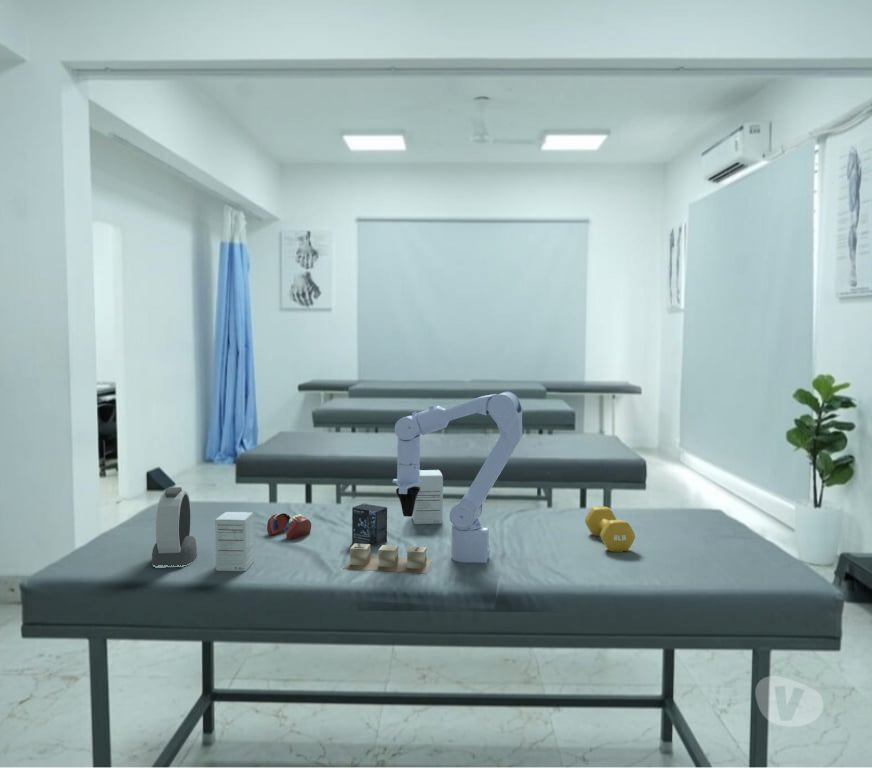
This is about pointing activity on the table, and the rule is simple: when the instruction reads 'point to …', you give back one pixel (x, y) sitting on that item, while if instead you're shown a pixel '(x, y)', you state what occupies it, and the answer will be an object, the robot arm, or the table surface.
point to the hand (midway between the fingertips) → (407, 515)
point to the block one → (416, 557)
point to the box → (369, 524)
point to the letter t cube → (360, 554)
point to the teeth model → (288, 525)
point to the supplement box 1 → (234, 541)
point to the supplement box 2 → (429, 498)
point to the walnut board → (399, 567)
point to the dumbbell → (610, 529)
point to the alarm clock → (174, 530)
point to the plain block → (388, 555)
